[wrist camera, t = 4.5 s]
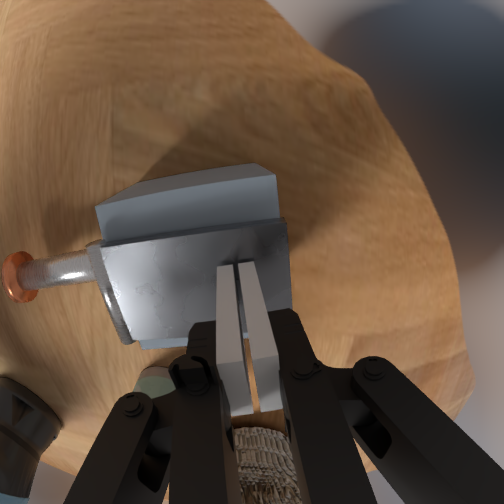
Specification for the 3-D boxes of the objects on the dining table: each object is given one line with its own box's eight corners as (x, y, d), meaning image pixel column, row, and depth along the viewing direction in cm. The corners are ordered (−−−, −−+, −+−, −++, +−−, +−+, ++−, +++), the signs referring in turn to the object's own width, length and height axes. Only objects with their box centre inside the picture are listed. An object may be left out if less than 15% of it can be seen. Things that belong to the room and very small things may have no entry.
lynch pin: (37, 288, 22) (14, 312, 18) (21, 246, 20) (-5, 265, 16) (172, 268, 23) (163, 297, 19) (160, 215, 21) (146, 233, 17)
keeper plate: (124, 333, 16) (118, 344, 15) (91, 240, 14) (81, 248, 13) (290, 319, 16) (293, 331, 15) (283, 213, 14) (286, 219, 13)
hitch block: (162, 287, 26) (142, 349, 18) (137, 182, 22) (94, 206, 14) (267, 271, 26) (288, 330, 18) (254, 162, 23) (275, 174, 14)
